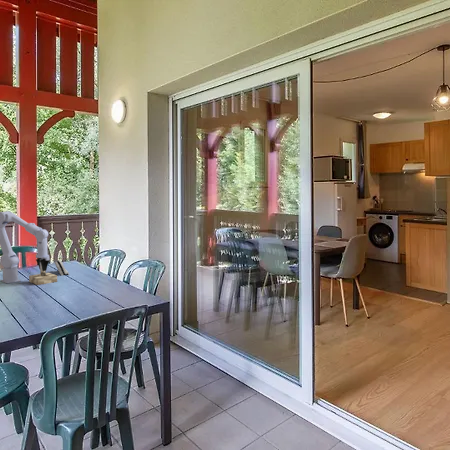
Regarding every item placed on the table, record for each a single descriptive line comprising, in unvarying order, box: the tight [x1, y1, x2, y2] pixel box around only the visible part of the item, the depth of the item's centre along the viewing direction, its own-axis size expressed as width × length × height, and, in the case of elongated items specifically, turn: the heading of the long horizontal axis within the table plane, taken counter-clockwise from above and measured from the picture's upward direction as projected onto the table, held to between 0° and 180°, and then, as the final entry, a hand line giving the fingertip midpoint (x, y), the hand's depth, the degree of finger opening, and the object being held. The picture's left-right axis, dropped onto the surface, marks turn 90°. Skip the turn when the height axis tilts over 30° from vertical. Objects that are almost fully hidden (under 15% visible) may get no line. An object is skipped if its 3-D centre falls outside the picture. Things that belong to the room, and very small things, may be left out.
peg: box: [39, 259, 47, 276], centre depth 235 cm, size 3×3×10 cm
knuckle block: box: [28, 272, 58, 286], centre depth 236 cm, size 12×12×4 cm
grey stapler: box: [54, 259, 70, 276], centre depth 261 cm, size 17×5×10 cm, turn 31°
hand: (43, 270), depth 235 cm, fingers closed on peg, 3 cm apart
